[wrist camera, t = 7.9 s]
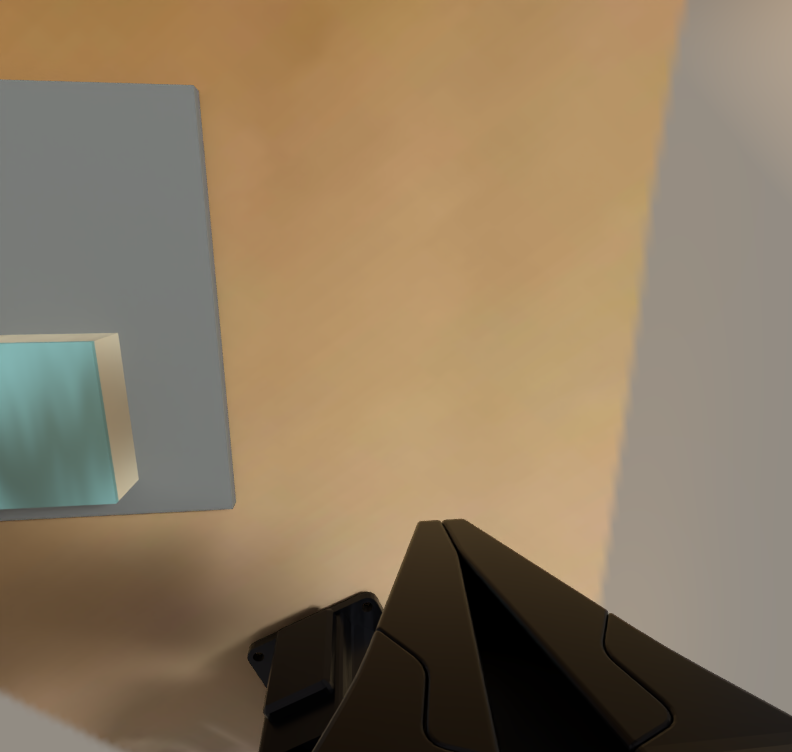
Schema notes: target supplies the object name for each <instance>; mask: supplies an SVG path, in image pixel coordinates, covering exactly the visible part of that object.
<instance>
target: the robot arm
mask: <svg viewBox="0 0 792 752" xmlns="http://www.w3.org/2000/svg"><path fill="white" fill-rule="evenodd" d="M367 602H369V603H371V604H370V605H369V606H364V605H363V604H364V603H367ZM257 652H260V653H262V654H261V655H259V654H256V653H257ZM247 658H248V661H249V663H250V664H251V666H252V667H253V669H254V670H255V672H256V673H257V675H258V676H259V678H260V679H261V680H262V682H263V683H264V685H265V686H266V688H267V691H266V696H265V702H264V707H263V713H264V715H265V718H264V724H263V730H262V735H261V741H260V747H259V752H792V716H791V715H789V714H787V713H786V712H784V711H782V710H780V709H778V708H776V707H774V706H773V705H771V704H769V703H767V702H765V701H764V700H762V699H760V698H758V697H756V696H754V695H753V694H751V693H749V692H747V691H745V690H743V689H741V688H740V687H738V686H735V685H734V684H732V683H730V682H729V681H727V680H725V679H723V678H721V677H719V676H718V675H716V674H714V673H712V672H710V671H708V670H706V669H705V668H703V667H701V666H699V665H697V664H696V663H694V662H692V661H691V660H689V659H687V658H685V657H683V656H682V655H680V654H678V653H676V652H675V651H673V650H671V649H669V648H667V647H666V646H664V645H662V644H661V643H659V642H657V641H655V640H654V639H653V638H651V637H649V636H648V635H646V634H644V633H643V632H641V631H639V630H638V629H636V628H635V627H633V626H631V625H630V624H628V623H627V622H625V621H623V620H622V619H620V618H619V617H617V616H616V615H614V614H612V613H609V614H608V611H607V610H606V609H604V608H603V607H601V606H600V605H598V604H597V603H595V602H593V601H592V600H590V599H589V598H587V597H586V596H584V595H582V594H581V593H579V592H578V591H576V590H575V589H573V588H571V587H570V586H568V585H567V584H565V583H564V582H562V581H560V580H559V579H557V578H556V577H554V576H553V575H551V574H549V573H548V572H546V571H545V570H543V569H542V568H540V567H539V566H537V565H535V564H534V563H532V562H531V561H529V560H528V559H526V558H524V557H523V556H521V555H520V554H518V553H517V552H515V551H513V550H512V549H510V548H509V547H507V546H506V545H504V544H502V543H501V542H499V541H498V540H496V539H495V538H493V537H491V536H490V535H488V534H487V533H485V532H484V531H482V530H480V529H479V528H477V527H476V526H474V525H473V524H471V523H469V522H468V521H466V520H464V519H450V520H444V521H442V523H441V521H439V520H432V521H420V522H419V523H418V524H417V526H416V529H415V531H414V534H413V536H412V539H411V542H410V544H409V547H408V549H407V552H406V554H405V557H404V559H403V562H402V564H401V567H400V569H399V572H398V574H397V577H396V580H395V582H394V585H393V587H392V590H391V592H390V595H389V597H388V600H387V602H386V605H385V607H384V609H383V607H382V606H381V604H380V602H379V600H378V598H377V597H376V595H375V594H373V593H371V592H364V593H361V594H359V595H357V596H355V597H353V598H350V599H348V600H346V601H344V602H342V603H339V604H337V605H335V606H333V607H331V608H329V609H324V610H322V611H320V612H318V613H316V614H313V615H311V616H309V617H307V618H305V619H303V620H300V621H298V622H296V623H294V624H292V625H289V626H287V627H285V628H283V629H281V630H279V631H278V632H276V633H274V634H272V635H270V636H267V637H265V638H263V639H261V640H259V641H256V642H254V643H253V644H252V645H251V646H250V648H249V652H248V657H247Z"/></svg>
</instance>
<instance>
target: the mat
mask: <svg viewBox="0 0 792 752" xmlns="http://www.w3.org/2000/svg"><path fill="white" fill-rule="evenodd" d="M87 333H118V336H119V343H120V350H121V357H122V364H123V372H124V379H125V386H126V393H127V400H128V407H129V414H130V421H131V428H132V435H133V442H134V449H135V456H136V463H137V470H138V477H139V480H138V481H137V482H136V483H135V484H134V485H133V486H132V487H131V488H130V489H129V491H128V492H127V493H126V494H125V495H124V496H123V497H122V498H121V499H120V500H119V501H118V502H117V503H116V504H100V505H80V506H60V507H40V508H20V509H0V521H9V520H28V519H47V518H66V517H86V516H105V515H124V514H144V513H163V512H182V511H201V510H221V509H233V507H234V505H235V503H236V497H235V486H234V475H233V464H232V453H231V442H230V431H229V420H228V409H227V398H226V387H225V376H224V365H223V354H222V343H221V332H220V321H219V310H218V299H217V288H216V277H215V266H214V255H213V244H212V233H211V222H210V211H209V200H208V189H207V178H206V167H205V156H204V145H203V134H202V123H201V112H200V101H199V91H198V90H197V89H196V88H195V86H194V85H168V84H133V83H99V82H64V81H29V80H0V335H31V334H87Z"/></svg>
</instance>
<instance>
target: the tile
mask: <svg viewBox="0 0 792 752" xmlns="http://www.w3.org/2000/svg"><path fill="white" fill-rule="evenodd" d="M138 480H139V477H138V470H137V463H136V456H135V449H134V442H133V435H132V428H131V421H130V414H129V407H128V400H127V393H126V386H125V379H124V372H123V364H122V357H121V350H120V343H119V336H118V333H87V334H31V335H0V509H20V508H40V507H60V506H80V505H100V504H116V503H117V502H118V501H119V500H120V499H121V498H122V497H123V496H124V495H125V494H126V493H127V492H128V491H129V489H130V488H131V487H132V486H133V485H134V484H135V483H136V482H137V481H138Z"/></svg>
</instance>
